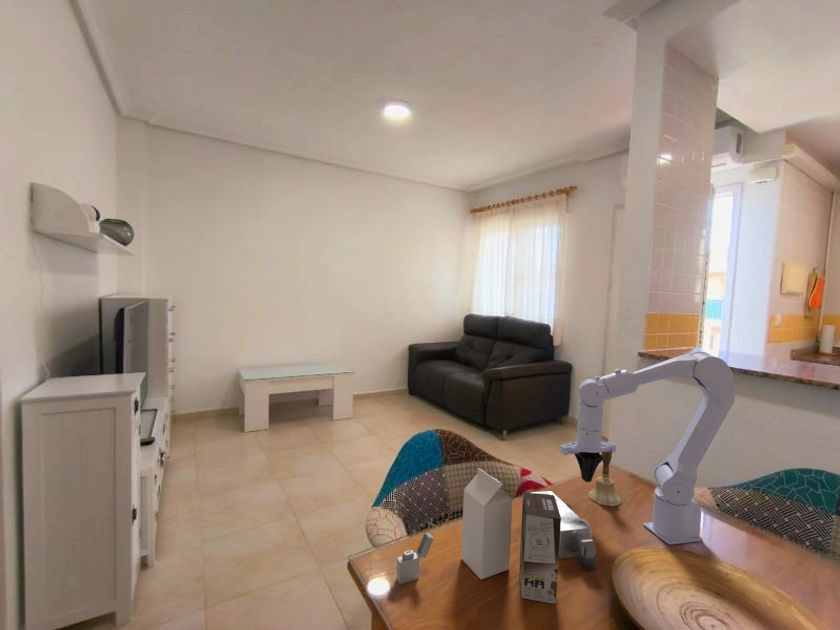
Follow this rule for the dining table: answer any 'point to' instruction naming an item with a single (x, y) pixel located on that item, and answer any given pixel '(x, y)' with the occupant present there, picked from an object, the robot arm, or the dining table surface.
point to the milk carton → (486, 526)
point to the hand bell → (605, 486)
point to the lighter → (412, 560)
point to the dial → (587, 554)
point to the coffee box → (539, 547)
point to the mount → (569, 530)
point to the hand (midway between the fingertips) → (586, 480)
